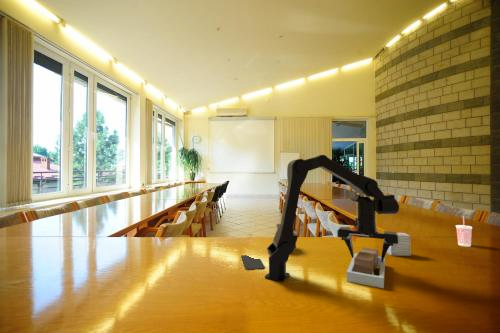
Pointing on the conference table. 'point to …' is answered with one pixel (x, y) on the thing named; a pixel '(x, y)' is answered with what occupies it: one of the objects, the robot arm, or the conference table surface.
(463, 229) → the beverage cup
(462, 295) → the conference table surface
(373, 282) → the peg frame
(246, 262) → the phone
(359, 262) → the brown block
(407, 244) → the medicine box
